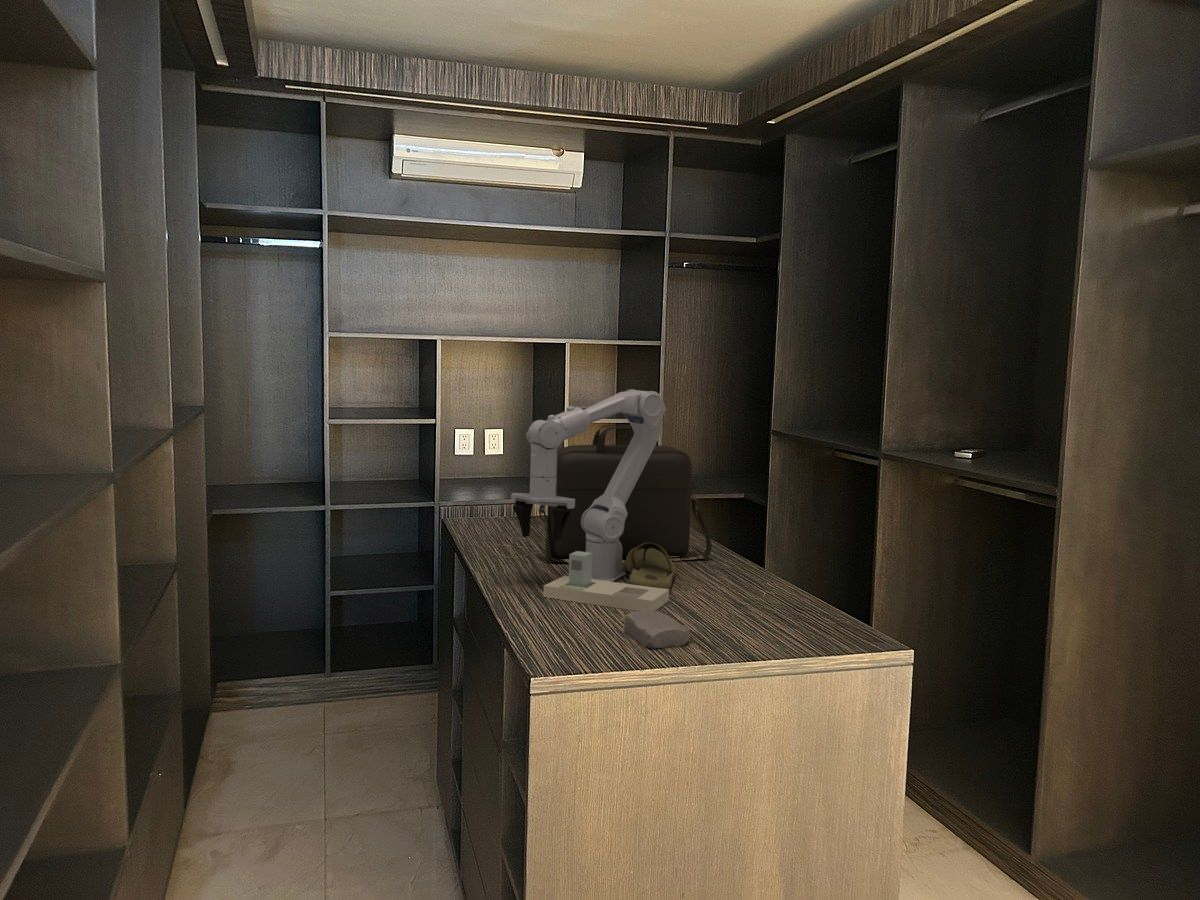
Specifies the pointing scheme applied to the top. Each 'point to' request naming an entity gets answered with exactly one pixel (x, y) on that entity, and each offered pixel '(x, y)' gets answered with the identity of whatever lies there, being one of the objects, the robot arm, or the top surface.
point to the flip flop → (650, 566)
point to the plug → (580, 569)
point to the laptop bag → (650, 506)
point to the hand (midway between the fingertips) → (541, 538)
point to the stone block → (655, 629)
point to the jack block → (609, 594)
